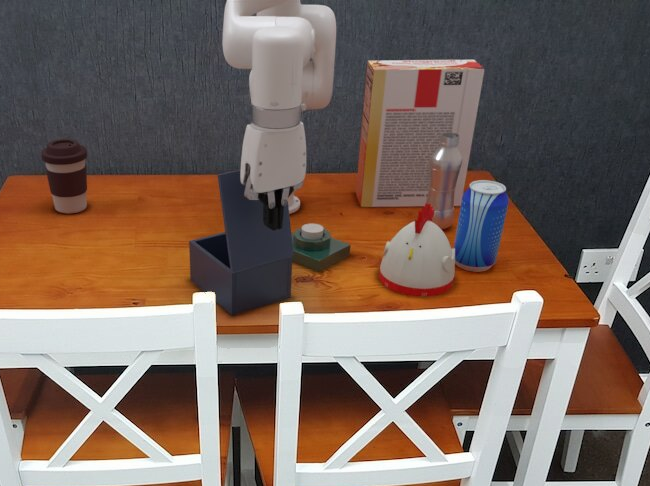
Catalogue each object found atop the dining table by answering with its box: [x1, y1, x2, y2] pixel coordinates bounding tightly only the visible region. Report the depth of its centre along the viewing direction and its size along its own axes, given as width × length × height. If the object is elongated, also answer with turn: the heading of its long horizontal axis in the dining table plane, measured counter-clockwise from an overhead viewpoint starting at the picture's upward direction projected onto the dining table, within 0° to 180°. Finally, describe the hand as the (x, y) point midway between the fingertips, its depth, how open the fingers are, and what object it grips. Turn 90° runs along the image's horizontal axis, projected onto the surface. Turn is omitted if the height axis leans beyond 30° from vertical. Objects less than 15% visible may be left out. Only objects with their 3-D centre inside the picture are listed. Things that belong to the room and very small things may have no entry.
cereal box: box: [355, 59, 485, 208], centre depth 174 cm, size 23×8×30 cm, turn 91°
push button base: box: [291, 227, 351, 273], centre depth 158 cm, size 12×10×4 cm
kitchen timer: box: [378, 203, 456, 298], centre depth 146 cm, size 14×14×15 cm
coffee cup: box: [40, 138, 88, 215], centre depth 175 cm, size 10×10×15 cm
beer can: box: [453, 179, 510, 273], centre depth 151 cm, size 8×8×16 cm
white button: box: [301, 222, 325, 240], centre depth 156 cm, size 4×4×2 cm
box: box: [188, 231, 293, 317], centre depth 145 cm, size 16×13×8 cm
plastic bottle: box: [426, 132, 462, 230], centre depth 164 cm, size 6×7×20 cm
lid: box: [216, 169, 294, 272], centre depth 134 cm, size 16×13×1 cm
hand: (272, 226), depth 130 cm, fingers closed
